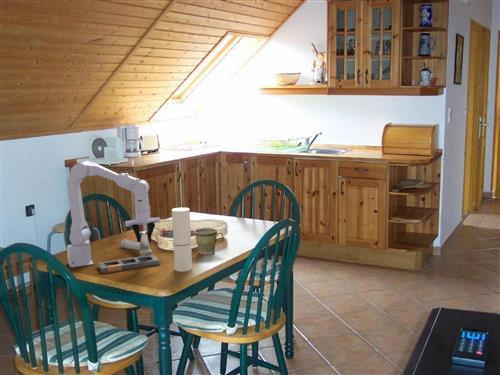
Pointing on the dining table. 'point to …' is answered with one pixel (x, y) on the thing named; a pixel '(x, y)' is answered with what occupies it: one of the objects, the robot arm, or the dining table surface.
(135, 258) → the grey slotted tray
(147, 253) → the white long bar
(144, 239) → the peg
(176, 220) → the cylindrical container
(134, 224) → the robot arm
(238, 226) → the dining table surface
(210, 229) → the ceramic cup
